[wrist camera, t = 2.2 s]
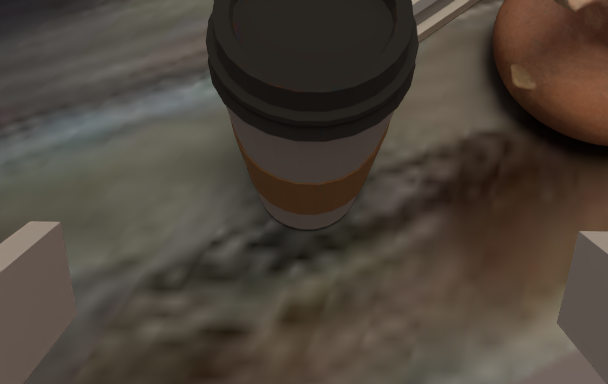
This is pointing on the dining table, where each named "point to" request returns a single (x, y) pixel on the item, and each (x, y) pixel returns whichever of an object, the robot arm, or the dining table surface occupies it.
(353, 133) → the coffee cup
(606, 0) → the ceramic jug
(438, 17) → the collar board
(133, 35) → the dining table surface
